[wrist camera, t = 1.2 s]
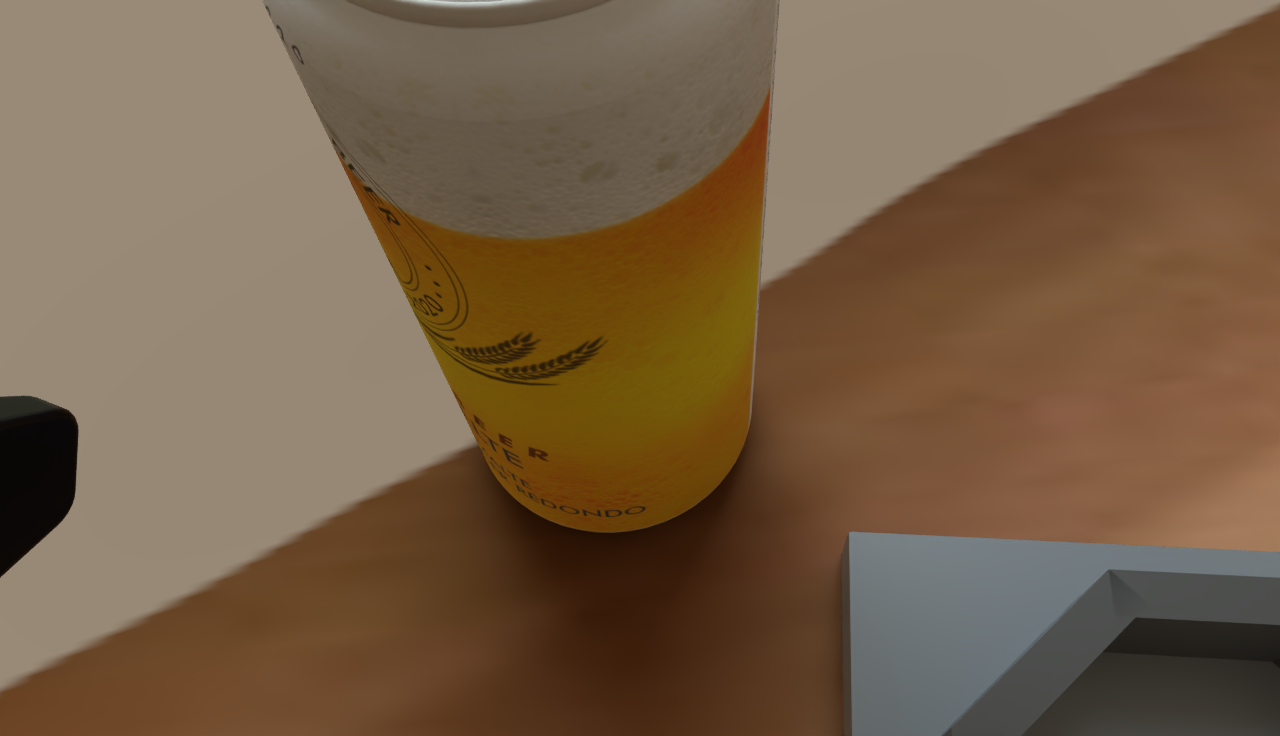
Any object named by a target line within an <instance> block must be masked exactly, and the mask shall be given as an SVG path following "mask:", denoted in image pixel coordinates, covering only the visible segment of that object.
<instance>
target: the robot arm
mask: <svg viewBox="0 0 1280 736" xmlns="http://www.w3.org/2000/svg"><path fill="white" fill-rule="evenodd" d="M77 450H78V424H77V421H76V418H75V416H74V415H73V414H72V413H71V412H70V411H69V410H67V409H64V408H62V407H59V406H57V405H54V404H52V403H49V402H47V401H44V400H41V399H39V398H37V397H32V396H8V397H7V396H6V397H0V577H1V576H2V575H4V574H5V573H6V572H7V571H8V570H9V569H10V568H11V567H12V566H13V565H15V564H16V563H17V562H18V561H19V560H20V559H21V558H22V557H23V556H24V555H26V554H27V553H28V552H29V551H30V550H31V549H32V548H33V547H34V546H36V544H38V543H39V542H40V541H41V540H42V539H43V538H44V537H45V536H46V535H48V534H49V533H50V532H51V531H52V530H53V529H54V528H55V527H56V526H57V525H58V524H59V523H60V522H61V521H62V520H63V519H64V518H65V516H66V515H67V514H68V512H69V510H70V508H71V506H72V504H73V501H74V497H75V490H76V470H77Z"/></svg>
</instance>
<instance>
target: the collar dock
mask: <svg viewBox="0 0 1280 736" xmlns="http://www.w3.org/2000/svg"><path fill="white" fill-rule="evenodd" d="M841 565H842V651H843V736H1280V552H1263V551H1243V550H1222V549H1201V548H1180V547H1159V546H1138V545H1117V544H1096V543H1075V542H1054V541H1033V540H1012V539H991V538H970V537H949V536H928V535H907V534H886V533H865V532H849V533H848V536H847V539H846V542H845V545H844V548H843V551H842V554H841Z"/></svg>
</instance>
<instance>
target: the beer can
mask: <svg viewBox="0 0 1280 736" xmlns="http://www.w3.org/2000/svg"><path fill="white" fill-rule="evenodd" d="M263 3H264V5H265V7H266V9H267V11H268V13H269V15H270V18H271V19H272V22H273V24H274V26H275V28H276V30H277V32H278V34H279V36H280V38H281V40H282V42H283V44H284V46H285V48H286V50H287V52H288V55H289V56H290V59H291V61H292V63H293V65H294V67H295V69H296V71H297V73H298V75H299V77H300V79H301V81H302V83H303V85H304V87H305V89H306V92H307V93H308V96H309V98H310V100H311V102H312V104H313V106H314V108H315V110H316V112H317V114H318V116H319V118H320V120H321V122H322V124H323V126H324V128H325V131H326V132H327V134H328V136H329V139H330V141H331V143H332V144H333V147H334V149H335V151H336V153H337V155H338V157H339V159H340V161H341V163H342V165H343V167H344V170H345V172H346V174H347V176H348V178H349V180H350V182H351V184H352V186H353V188H354V190H355V192H356V194H357V196H358V198H359V200H360V202H361V204H362V207H363V209H364V211H365V213H366V214H367V217H368V219H369V221H370V223H371V225H372V227H373V229H374V231H375V233H376V235H377V237H378V239H379V241H380V243H381V246H382V247H383V250H384V252H385V254H386V256H387V258H388V260H389V262H390V264H391V266H392V268H393V270H394V272H395V274H396V276H397V278H398V280H399V283H400V285H401V287H402V288H403V291H404V293H405V295H406V297H407V299H408V301H409V303H410V305H411V307H412V309H413V311H414V313H415V315H416V317H417V319H418V322H419V324H420V326H421V327H422V330H423V332H424V334H425V336H426V338H427V340H428V342H429V344H430V346H431V348H432V350H433V352H434V354H435V356H436V358H437V360H438V363H439V364H440V367H441V369H442V371H443V373H444V375H445V377H446V379H447V381H448V383H449V385H450V387H451V389H452V391H453V393H454V396H455V398H456V399H457V402H458V404H459V406H460V408H461V410H462V412H463V414H464V416H465V418H466V420H467V422H468V424H469V426H470V428H471V430H472V433H473V435H474V437H475V439H476V441H477V443H478V445H479V447H480V449H481V451H482V453H483V455H484V457H485V459H486V461H487V463H488V465H489V467H490V469H491V471H492V472H493V474H494V475H495V477H496V478H497V480H498V481H499V482H500V483H501V485H502V486H503V487H504V488H505V489H506V490H507V492H508V493H509V494H511V495H512V496H513V497H514V498H515V499H516V500H517V501H518V502H519V503H521V504H522V505H524V506H525V507H526V508H528V509H529V510H531V511H532V512H534V513H536V514H538V515H539V516H541V517H543V518H545V519H547V520H549V521H552V522H555V523H557V524H560V525H562V526H566V527H570V528H574V529H578V530H584V531H591V532H610V533H614V532H625V531H633V530H638V529H643V528H647V527H651V526H654V525H657V524H660V523H663V522H665V521H667V520H670V519H672V518H674V517H676V516H679V515H680V514H682V513H684V512H685V511H687V510H689V509H690V508H692V507H694V506H695V505H696V504H698V503H699V502H700V501H702V500H703V499H704V498H705V497H707V496H708V495H709V494H710V493H711V492H712V491H713V490H714V489H715V488H716V487H717V486H718V485H719V484H720V483H721V481H722V480H723V479H724V478H725V477H726V475H727V474H728V473H729V471H730V470H731V468H732V467H733V465H734V463H735V462H736V460H737V458H738V456H739V454H740V452H741V450H742V448H743V446H744V443H745V440H746V437H747V434H748V431H749V425H750V420H751V413H752V398H753V383H754V368H755V354H756V339H757V324H758V310H759V295H760V280H761V265H762V250H763V236H764V235H763V234H764V221H765V206H766V191H767V177H768V176H767V175H768V162H769V146H770V133H771V118H772V101H773V88H774V74H775V73H774V72H775V59H776V44H777V29H778V15H779V0H263Z"/></svg>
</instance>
